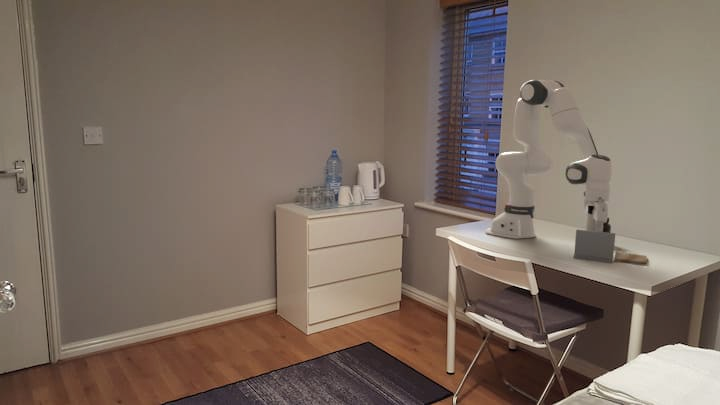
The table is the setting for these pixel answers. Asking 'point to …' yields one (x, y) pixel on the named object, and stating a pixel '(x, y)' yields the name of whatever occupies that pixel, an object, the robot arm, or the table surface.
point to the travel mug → (591, 220)
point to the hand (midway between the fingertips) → (594, 229)
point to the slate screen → (594, 246)
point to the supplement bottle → (607, 226)
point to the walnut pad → (630, 258)
